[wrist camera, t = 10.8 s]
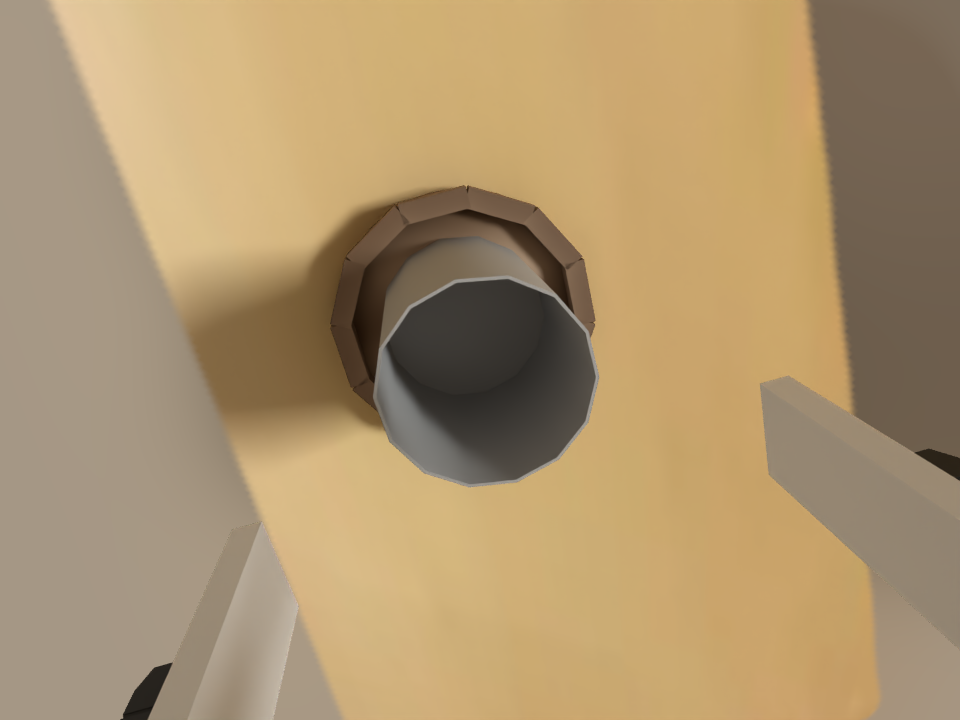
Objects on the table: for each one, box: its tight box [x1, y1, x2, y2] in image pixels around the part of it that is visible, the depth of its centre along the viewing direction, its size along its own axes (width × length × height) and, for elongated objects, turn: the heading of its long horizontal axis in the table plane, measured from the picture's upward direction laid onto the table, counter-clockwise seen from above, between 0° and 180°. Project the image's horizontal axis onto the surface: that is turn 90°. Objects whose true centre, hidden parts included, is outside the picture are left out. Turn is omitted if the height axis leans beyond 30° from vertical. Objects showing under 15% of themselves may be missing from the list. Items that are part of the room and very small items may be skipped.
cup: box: [373, 236, 599, 487], centre depth 28 cm, size 8×8×10 cm
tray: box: [330, 185, 595, 411], centre depth 33 cm, size 13×13×2 cm
